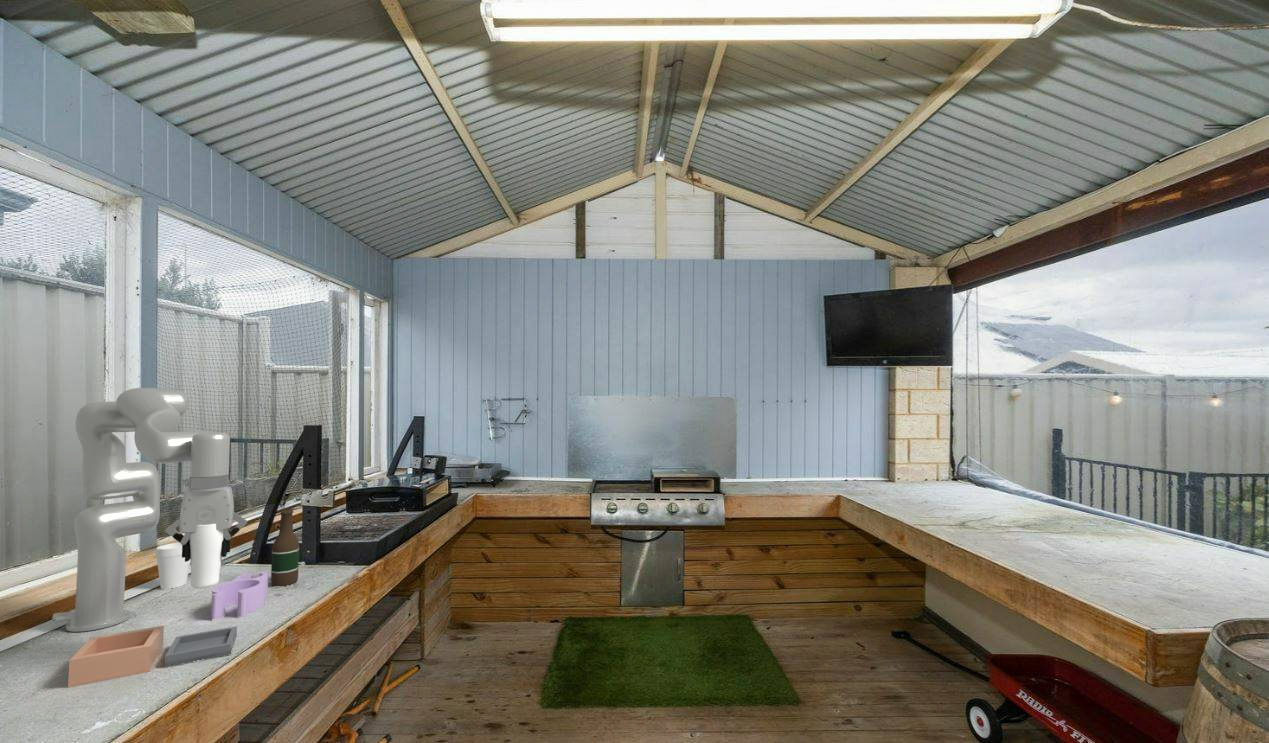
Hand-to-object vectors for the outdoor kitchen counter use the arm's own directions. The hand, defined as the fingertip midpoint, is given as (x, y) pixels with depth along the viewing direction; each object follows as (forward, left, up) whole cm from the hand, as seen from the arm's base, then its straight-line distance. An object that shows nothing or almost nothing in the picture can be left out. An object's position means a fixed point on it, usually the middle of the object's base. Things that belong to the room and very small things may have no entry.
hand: (206, 557), depth 132 cm
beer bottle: (+15, +48, -22) cm, 55 cm away
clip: (+5, +31, -23) cm, 39 cm away
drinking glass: (0, 0, -7) cm, 7 cm away
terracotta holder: (-15, 0, -22) cm, 27 cm away
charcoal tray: (0, 0, -22) cm, 22 cm away
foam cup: (-16, +64, -22) cm, 70 cm away
